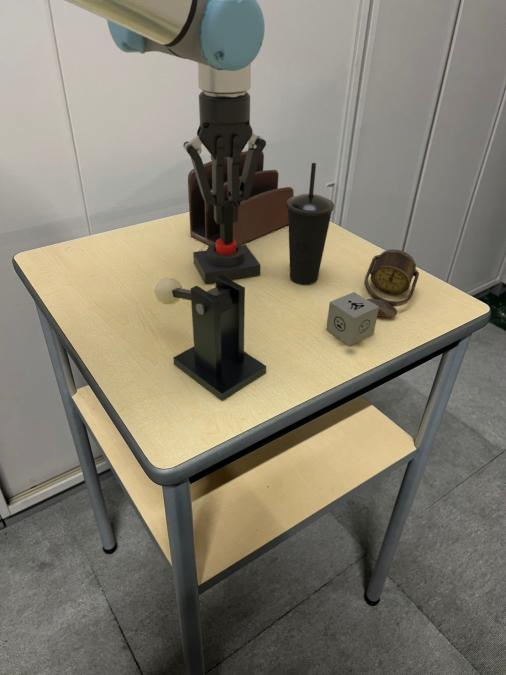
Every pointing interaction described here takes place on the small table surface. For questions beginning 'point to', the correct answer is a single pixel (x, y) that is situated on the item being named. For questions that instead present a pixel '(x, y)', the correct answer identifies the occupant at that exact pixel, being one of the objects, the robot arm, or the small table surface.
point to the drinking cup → (307, 233)
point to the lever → (188, 293)
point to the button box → (226, 264)
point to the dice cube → (352, 318)
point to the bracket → (219, 343)
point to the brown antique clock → (391, 279)
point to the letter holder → (253, 214)
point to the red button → (225, 247)
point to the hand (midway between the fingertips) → (226, 239)
